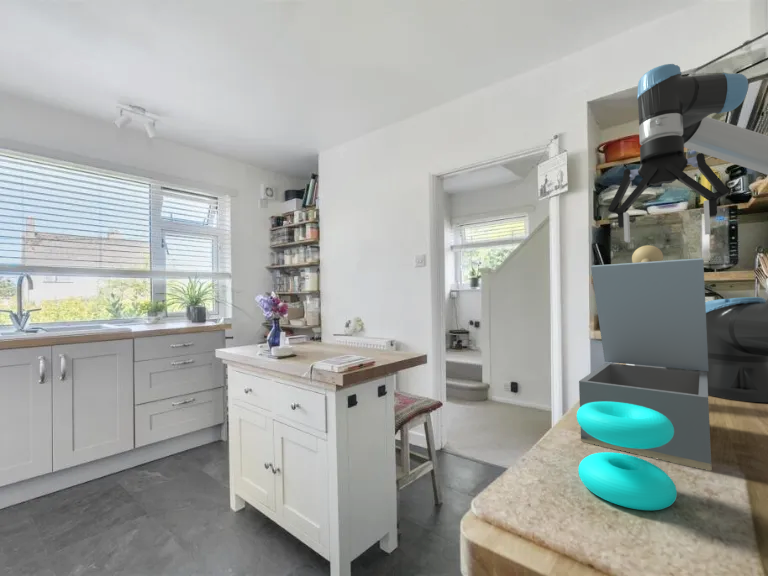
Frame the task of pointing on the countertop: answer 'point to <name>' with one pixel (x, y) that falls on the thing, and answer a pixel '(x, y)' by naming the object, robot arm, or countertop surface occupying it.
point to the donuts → (625, 472)
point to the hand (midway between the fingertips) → (665, 238)
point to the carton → (657, 407)
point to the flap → (653, 311)
